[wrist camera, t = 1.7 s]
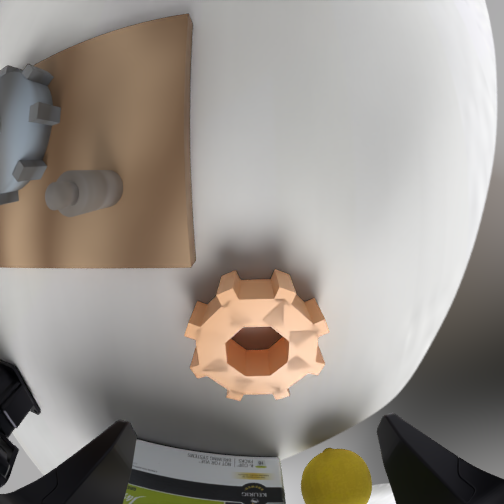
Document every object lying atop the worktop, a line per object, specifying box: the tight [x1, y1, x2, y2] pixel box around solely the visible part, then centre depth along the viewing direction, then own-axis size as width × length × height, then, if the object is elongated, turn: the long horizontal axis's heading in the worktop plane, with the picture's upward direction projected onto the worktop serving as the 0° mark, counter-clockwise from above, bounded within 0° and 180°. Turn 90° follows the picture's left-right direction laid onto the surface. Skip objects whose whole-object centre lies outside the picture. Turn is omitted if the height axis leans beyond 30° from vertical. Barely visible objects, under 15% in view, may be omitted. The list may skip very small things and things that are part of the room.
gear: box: [184, 269, 329, 401], centre depth 14 cm, size 7×7×2 cm
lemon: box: [301, 448, 372, 504], centre depth 14 cm, size 6×6×8 cm
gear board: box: [0, 14, 196, 268], centre depth 9 cm, size 16×13×5 cm
